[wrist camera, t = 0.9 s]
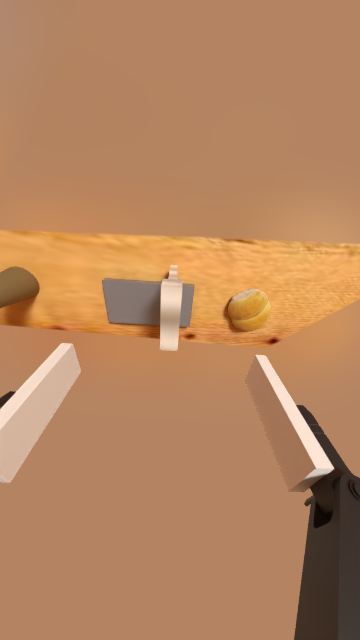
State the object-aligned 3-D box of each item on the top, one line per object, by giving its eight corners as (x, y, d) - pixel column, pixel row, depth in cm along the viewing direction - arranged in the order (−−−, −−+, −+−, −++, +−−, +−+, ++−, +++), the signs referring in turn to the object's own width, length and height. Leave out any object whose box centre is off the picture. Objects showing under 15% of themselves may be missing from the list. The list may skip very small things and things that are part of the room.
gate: (177, 323, 36) (176, 359, 27) (164, 322, 36) (159, 358, 27) (181, 265, 30) (182, 287, 21) (166, 264, 30) (160, 286, 21)
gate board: (111, 318, 38) (109, 322, 36) (105, 278, 33) (102, 280, 32) (189, 323, 38) (189, 327, 37) (193, 284, 34) (194, 286, 32)
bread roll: (235, 331, 40) (240, 341, 36) (222, 299, 36) (226, 308, 32) (272, 316, 38) (281, 326, 34) (262, 281, 34) (271, 289, 30)
